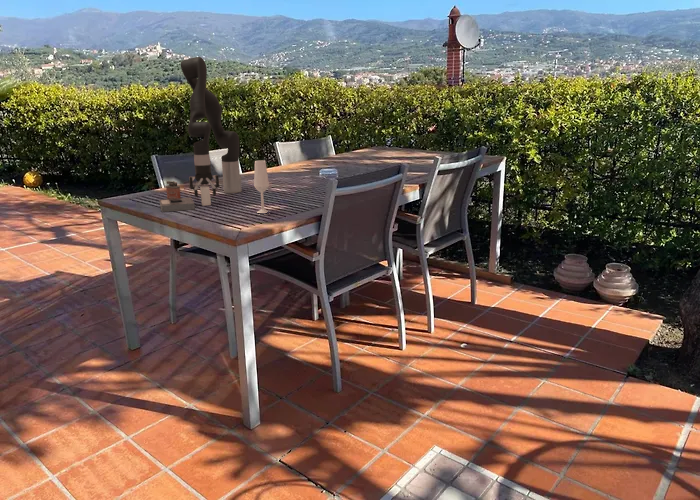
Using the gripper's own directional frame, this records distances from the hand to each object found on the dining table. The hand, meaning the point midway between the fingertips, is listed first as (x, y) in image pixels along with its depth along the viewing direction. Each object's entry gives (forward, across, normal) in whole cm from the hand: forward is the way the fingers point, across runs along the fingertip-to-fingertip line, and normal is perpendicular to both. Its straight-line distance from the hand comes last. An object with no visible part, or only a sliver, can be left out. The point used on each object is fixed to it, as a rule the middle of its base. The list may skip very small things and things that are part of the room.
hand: (205, 196), depth 253 cm
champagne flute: (+4, -22, +29) cm, 37 cm away
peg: (+4, 0, 0) cm, 4 cm away
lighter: (+4, +14, -17) cm, 22 cm away
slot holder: (+4, +14, +2) cm, 15 cm away
